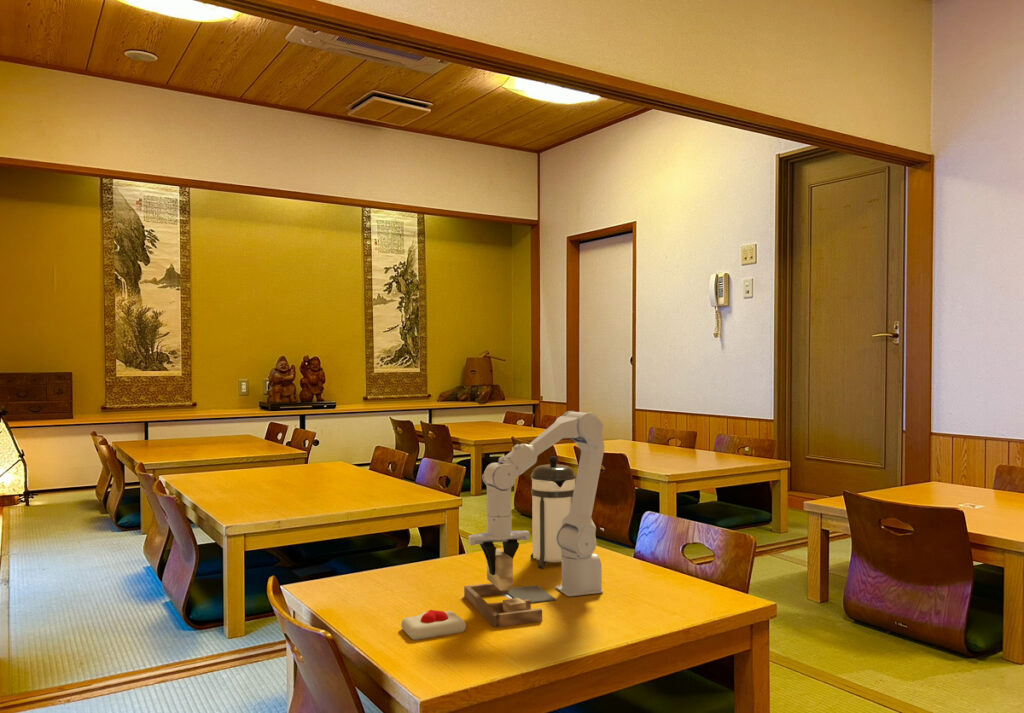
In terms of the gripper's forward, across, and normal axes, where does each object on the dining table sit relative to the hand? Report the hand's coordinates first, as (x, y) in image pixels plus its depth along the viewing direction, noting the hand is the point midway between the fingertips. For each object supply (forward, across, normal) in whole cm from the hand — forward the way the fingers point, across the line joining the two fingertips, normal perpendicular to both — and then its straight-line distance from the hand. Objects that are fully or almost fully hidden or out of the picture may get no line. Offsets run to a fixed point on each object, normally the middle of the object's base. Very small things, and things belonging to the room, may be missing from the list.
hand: (499, 573), depth 179 cm
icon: (+8, +19, +11) cm, 23 cm away
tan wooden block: (+2, 0, 0) cm, 3 cm away
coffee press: (+8, -26, -31) cm, 41 cm away
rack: (+7, 0, +3) cm, 8 cm away
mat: (+7, -9, -4) cm, 12 cm away
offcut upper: (+6, 0, +10) cm, 12 cm away
